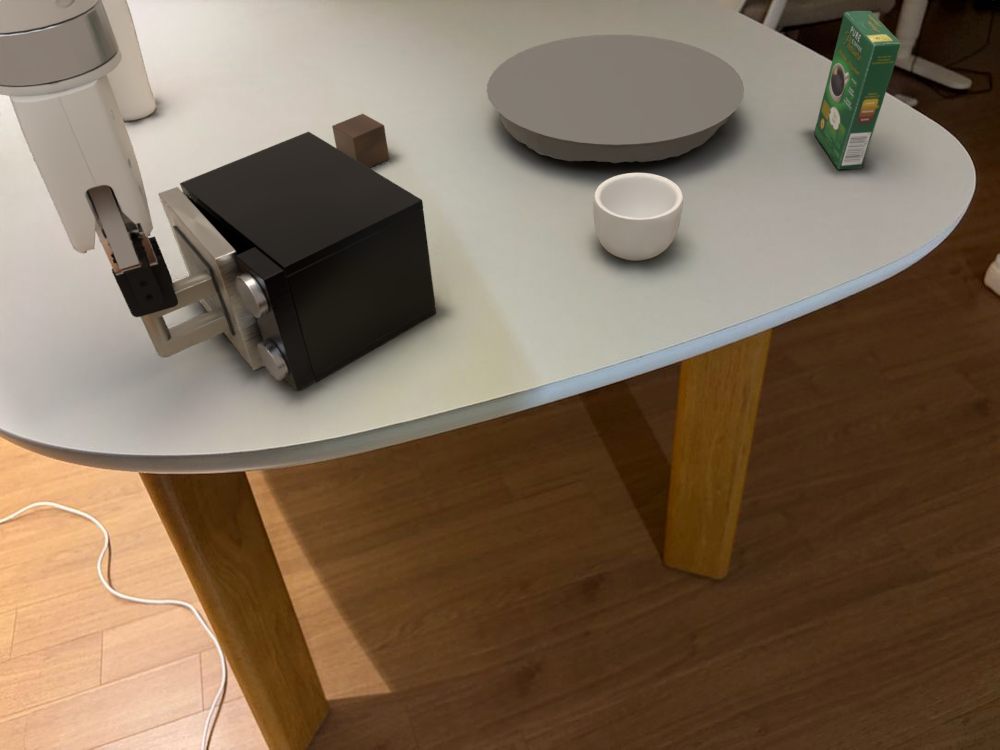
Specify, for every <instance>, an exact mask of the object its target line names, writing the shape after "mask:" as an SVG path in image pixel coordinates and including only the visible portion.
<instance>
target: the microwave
mask: <svg viewBox="0 0 1000 750" xmlns="http://www.w3.org/2000/svg"><path fill="white" fill-rule="evenodd" d="M179 185H180V189H181V191H182V192H183V193H184V195H185V196H186V197H187V198H188V199H189V200H190V201H191V202H192V203H193V204H194V206H195V207H196V208H197V209H198V210H199V211H200V212H201V213H202V214H203V215H204V217H205V218H206V219H207V220H208V221H209V222H210V223H211V224H212V225H213V226H214V228H215V229H216V230H217V231H218V232H219V233H220V234H221V235H222V236H223V237H224V238H225V240H226V241H227V242H228V243H229V244H230V245H231V246H232V247H233V248H234V249H235V251H236V252H237V255H236V258H237V261H238V264H239V267H240V271H241V274H242V275H240V276H238V277H236V278H235V284H236V288H237V291H238V293H239V295H240V297H241V299H242V301H243V303H244V304H245V306H246V307H247V309H248V310H249V311H250V312H251V314H252V315H254V316H255V317H256V319H257V323H258V326H259V329H260V332H261V335H262V338H263V341H262V342H260V343H258V345H257V350H258V353H259V356H260V358H261V360H262V362H263V364H264V365H265V366H264V367H265V369H266V370H267V372H268V373H269V374H270V375H271V376H272V377H273V378H274V379H275V380H277V381H282V380H283V379H285V380H286V381H287V382H288V383H289V385H291V386H292V387H293V388H294V389H295V390H296V391H300V390H302V389H304V388H306V387H307V386H309V385H311V384H313V383H318V382H320V381H321V380H323V379H325V378H327V377H328V376H330V375H332V374H333V373H335V372H337V371H338V370H341V369H342V368H344V367H345V366H346V367H347V366H348V365H349V364H351V363H352V362H355V361H356V360H358V359H360V358H361V357H363V356H365V355H367V354H369V353H370V352H372V351H374V350H376V349H377V348H379V347H381V346H383V345H384V344H386V343H388V342H389V341H391V340H393V339H395V338H396V337H398V336H400V335H402V334H404V333H405V332H407V331H409V330H410V329H412V328H413V327H416V326H417V325H419V324H420V323H423V322H424V321H425V320H427V319H429V318H431V317H433V316H434V315H436V314H437V309H436V308H437V307H436V301H435V299H436V298H435V293H434V291H435V290H434V285H433V276H432V268H431V260H430V253H429V245H428V243H429V242H428V236H427V228H426V220H425V212H424V202H423V199H421V198H420V197H418V196H416V195H415V194H413V193H411V192H410V191H408V190H407V189H404V188H403V187H402V186H400V185H398V184H396V183H395V182H393V181H391V180H390V179H388V178H386V177H385V176H383V175H382V174H380V173H378V172H377V171H375V170H374V169H372V168H371V167H370V168H368V167H367V166H365V165H363V164H362V163H360V162H358V161H357V160H355V159H353V158H352V157H350V156H348V155H347V154H345V153H343V152H342V151H340V150H338V149H337V148H336V146H333V145H332V144H330V143H328V142H327V141H325V140H324V139H322V138H320V137H319V136H317V135H315V134H313V133H312V132H311V131H306V132H304V133H301V134H298V135H296V136H293V137H291V138H289V139H286V140H285V141H284V140H283V141H281V142H279V143H276V144H274V145H272V146H268V147H267V148H264V149H261V150H258V151H256V152H253V153H251V154H249V155H246V156H244V157H241V158H239V159H237V160H233V161H231V162H229V163H227V164H224V165H222V166H219V167H217V168H214V169H212V170H209V171H207V172H205V173H202V174H200V175H197V176H194V177H191V178H190V179H186V180H184V181H182V182H179Z"/></svg>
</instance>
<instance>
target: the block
mask: <svg viewBox="0 0 1000 750" xmlns="http://www.w3.org/2000/svg"><path fill="white" fill-rule="evenodd" d="M331 128H332V134H333V138H334V143H335V148H337V149H338V150H340V151H342V152H343V153H345V154H347V155H348V156H350V157H352V158H353V159H355V160H357V161H358V162H360V163H362V164H363V165H365V166H367V167H368V168H370V169H371V168H373V167H374V166H377V165H380V164H381V163H384V162H386V161H388V160H390V155H389V148H388V142H387V136H386V128H385V125H384V124H383V123H381V122H379V121H378V120H375V119H373V118H372V117H370V116H368V115H366V114H365V113H361V114H358V115H356V116H353V117H351V118H348V119H346V120H343V121H340V122H339V123H336V124H333V125H332V126H331Z"/></svg>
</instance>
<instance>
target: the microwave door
mask: <svg viewBox="0 0 1000 750" xmlns="http://www.w3.org/2000/svg"><path fill="white" fill-rule="evenodd" d="M158 197H159V200H160V203H161V205H162V207H163V210H164V213H165V215H166V219H167V221H168V223H169V226H170V229H171V231H172V233H173V236H174V239H175V242H176V244H177V247H178V249H179V252H180V255H181V258H182V260H183V263H184V266H185V268H186V271H187V273H188V276H186V277H184V278H181V279H179V280H176V281H172V282H173V283H171V284H172V286H173V289H174V291H175V294H176V296H177V299H178V304H177V306H175V307H172V308H168V309H165V310H162V311H158V312H155V313H151V314H148V315H144V316H141V317H140V319H141V321H142V323H143V325H144V328H145V330H146V332H147V334H148V336H149V338H150V341H151V343H152V345H153V347H154V349H155V352H156V355H157V356H158V357H160V358H169V357H172V356H173V355H176V354H178V353H180V352H183V351H185V350H187V349H189V348H191V347H193V346H196V345H199V344H201V343H203V342H206V341H207V340H210V339H211V338H214V337H217V336H218V335H221V334H223V333H224V335H225V336H226V337H227V339H228V340H229V341H230V342H231V343H232V345H233V346H234V348H235V349H236V350H237V351H238V352H239V354H240V356H242V357H243V359H244V361H246V363H247V364H248V365H249V366H250V368H251V369H252V370H253V371H256V370H259V369H260V368H262V367H265V365H264V364H263V362H262V360H261V358H260V356H259V353H258V350H257V345H258V343H260V342H262V341H263V338H262V335H261V332H260V329H259V326H258V323H257V319H256V317H255V316H254V315H252V314H251V312H250V311H249V310H248V309H247V307H246V306H245V304H244V303H243V301H242V299H241V297H240V295H239V293H238V291H237V288H236V284H235V278H236V277H238V276H240V275H242V274H241V271H240V267H239V264H238V261H237V258H236V255H237V252H236V251H235V249H234V248H233V247H232V246H231V245H230V244H229V243H228V242H227V241H226V240H225V238H224V237H223V236H222V235H221V234H220V233H219V232H218V231H217V230H216V229H215V228H214V226H213V225H212V224H211V223H210V222H209V221H208V220H207V219H206V218H205V217H204V215H203V214H202V213H201V212H200V211H199V210H198V209H197V208H196V207H195V206H194V204H193V203H192V202H191V201H190V200H189V199H188V198H187V197H186V196H185V195H184V193H183V191H182V189H181V188H179V187H178V186H176V187H172V188H170V189H167V190H163V191H161V192H159V193H158ZM197 302H199V303H200V304H201V305H202V307H203V308H204V309H205V310H206V311H207V312H204V313H203V314H199V315H197V316H195V317H193V318H191V319H188V320H186V321H184V322H181V323H179V324H176V325H174V326H172V327H170V328H168V325H167V323H166V321H165V318H164V316H166V315H168V314H170V313H172V312H174V311H177V310H180V309H182V308H184V307H187V306H190V305H192V304H194V303H197Z"/></svg>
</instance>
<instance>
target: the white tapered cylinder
mask: <svg viewBox="0 0 1000 750" xmlns="http://www.w3.org/2000/svg"><path fill="white" fill-rule="evenodd" d="M102 3H103V6H104V9H105V11H106V14H107V17H108V19H109V22H110V25H111V28H112V30H113V33H114V36H115V38H116V41H117V45H118V47H119V49H120V52H121V55H122V59H121V61H120V63H119V64H118V66H117V67H116V68H115V69H113V70H112V71H111V72H109V73H108V74H106V75H107V78H108V80H109V83H110V86H111V88H112V91H113V94H114V96H115V99H116V102H117V104H118V107H119V110H120V112H121V115H122V118H123V121H124V122H126V121H127V122H128V121H130V122H131V121H137V120H140V119H144V118H146V117H148V116H150V115H151V114H153V113H154V112H155V110H156V108H157V103H156V100H155V96H154V94H153V91H152V88H151V84H150V80H149V77H148V73H147V70H146V65H145V61H144V58H143V54H142V49H141V45H140V42H139V38H138V34H137V30H136V26H135V23H134V19H133V16H132V13H131V9H130V7H129V4H128V1H127V0H102Z"/></svg>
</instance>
